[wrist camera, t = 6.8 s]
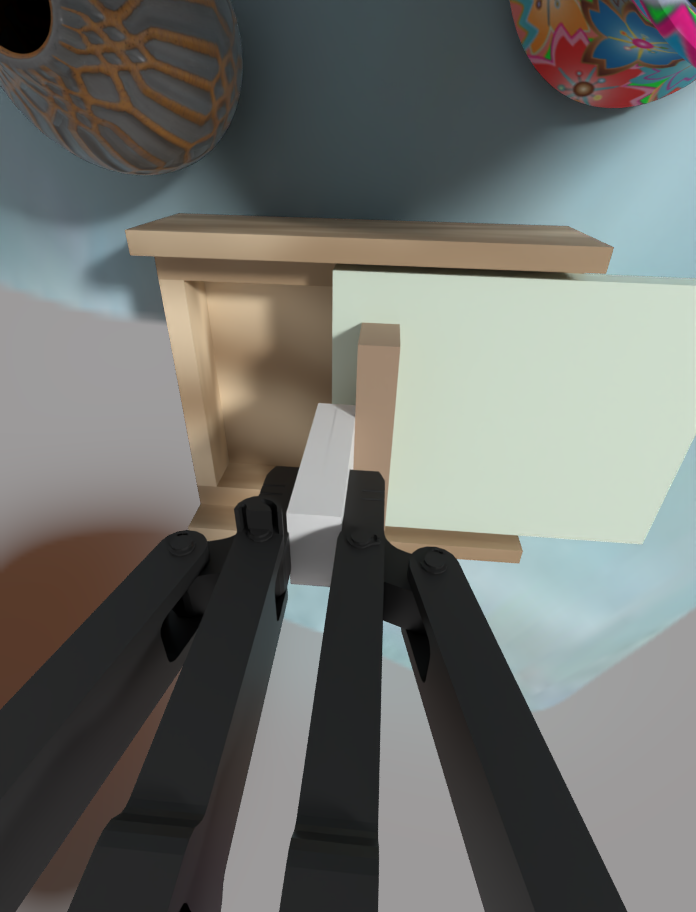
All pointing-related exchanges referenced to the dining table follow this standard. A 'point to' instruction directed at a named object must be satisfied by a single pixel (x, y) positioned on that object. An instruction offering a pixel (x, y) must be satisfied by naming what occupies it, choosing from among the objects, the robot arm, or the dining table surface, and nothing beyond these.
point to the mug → (610, 47)
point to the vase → (124, 77)
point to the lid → (517, 395)
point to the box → (302, 334)
